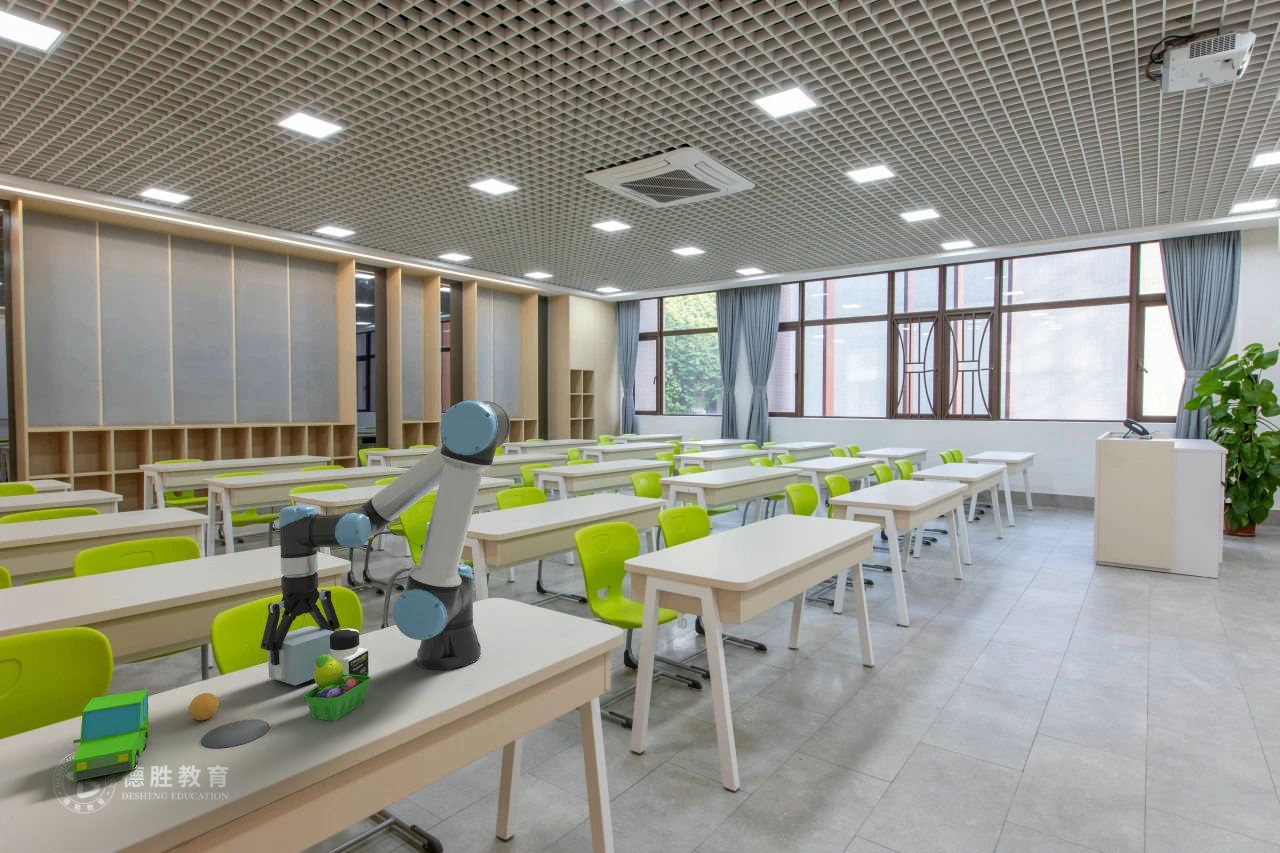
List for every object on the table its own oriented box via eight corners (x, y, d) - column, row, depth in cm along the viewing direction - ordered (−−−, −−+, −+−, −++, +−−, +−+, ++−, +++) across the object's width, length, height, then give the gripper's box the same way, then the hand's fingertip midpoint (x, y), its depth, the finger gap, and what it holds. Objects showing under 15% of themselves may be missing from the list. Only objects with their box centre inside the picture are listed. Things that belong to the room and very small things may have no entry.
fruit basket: (335, 725, 130) (334, 667, 129) (297, 720, 132) (296, 663, 131) (372, 700, 141) (371, 647, 140) (336, 696, 143) (335, 644, 143)
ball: (224, 716, 133) (223, 692, 133) (196, 727, 129) (196, 701, 129) (211, 711, 136) (210, 686, 136) (184, 720, 132) (183, 695, 132)
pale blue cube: (337, 669, 154) (335, 631, 154) (294, 685, 146) (293, 645, 146) (311, 662, 160) (309, 625, 160) (268, 677, 151) (267, 638, 151)
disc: (281, 728, 128) (281, 727, 128) (220, 753, 119) (220, 752, 119) (250, 715, 134) (250, 714, 134) (190, 738, 124) (190, 737, 124)
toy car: (63, 792, 107) (61, 730, 107) (86, 755, 119) (84, 699, 119) (141, 775, 112) (140, 716, 112) (155, 741, 124) (154, 688, 123)
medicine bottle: (349, 692, 145) (348, 637, 145) (320, 689, 146) (319, 635, 146) (369, 679, 152) (368, 627, 152) (341, 677, 153) (340, 625, 153)
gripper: (335, 561, 164) (338, 651, 164) (239, 583, 145) (243, 684, 145) (354, 564, 160) (357, 656, 160) (258, 587, 141) (262, 691, 141)
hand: (303, 669), depth 153 cm, fingers closed on pale blue cube, 10 cm apart
